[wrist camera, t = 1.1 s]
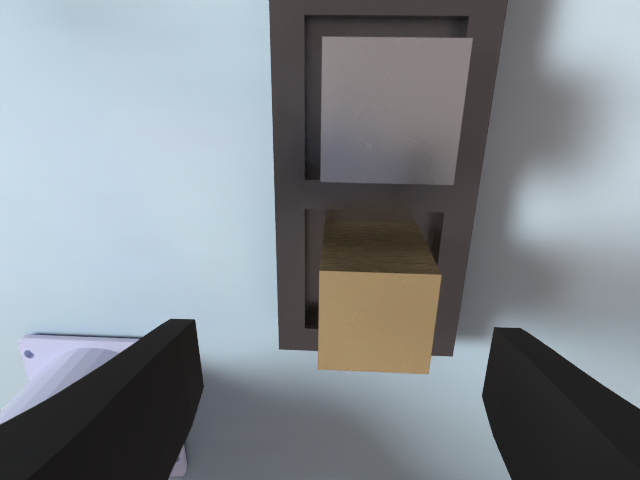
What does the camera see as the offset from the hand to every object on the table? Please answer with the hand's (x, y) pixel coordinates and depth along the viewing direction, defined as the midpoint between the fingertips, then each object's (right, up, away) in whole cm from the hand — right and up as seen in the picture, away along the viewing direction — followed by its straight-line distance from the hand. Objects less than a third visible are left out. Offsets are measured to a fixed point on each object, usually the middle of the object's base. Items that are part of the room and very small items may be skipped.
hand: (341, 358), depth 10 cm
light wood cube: (+2, +2, +9) cm, 9 cm away
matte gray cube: (+2, +8, +6) cm, 11 cm away
